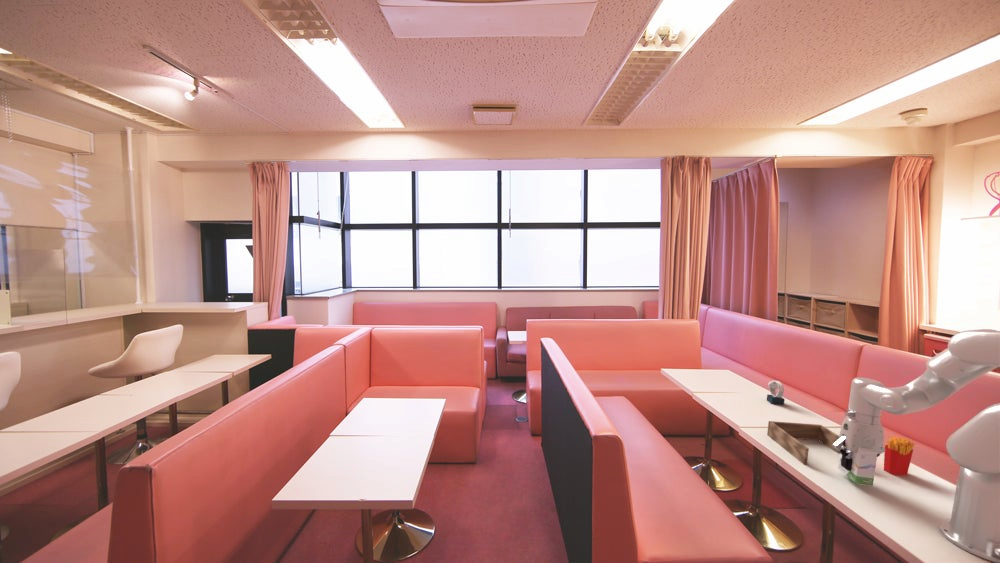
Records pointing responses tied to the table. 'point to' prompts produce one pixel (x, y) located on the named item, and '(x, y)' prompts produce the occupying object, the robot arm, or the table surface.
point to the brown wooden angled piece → (800, 437)
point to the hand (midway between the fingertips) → (855, 468)
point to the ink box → (861, 466)
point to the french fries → (898, 455)
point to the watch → (775, 397)
